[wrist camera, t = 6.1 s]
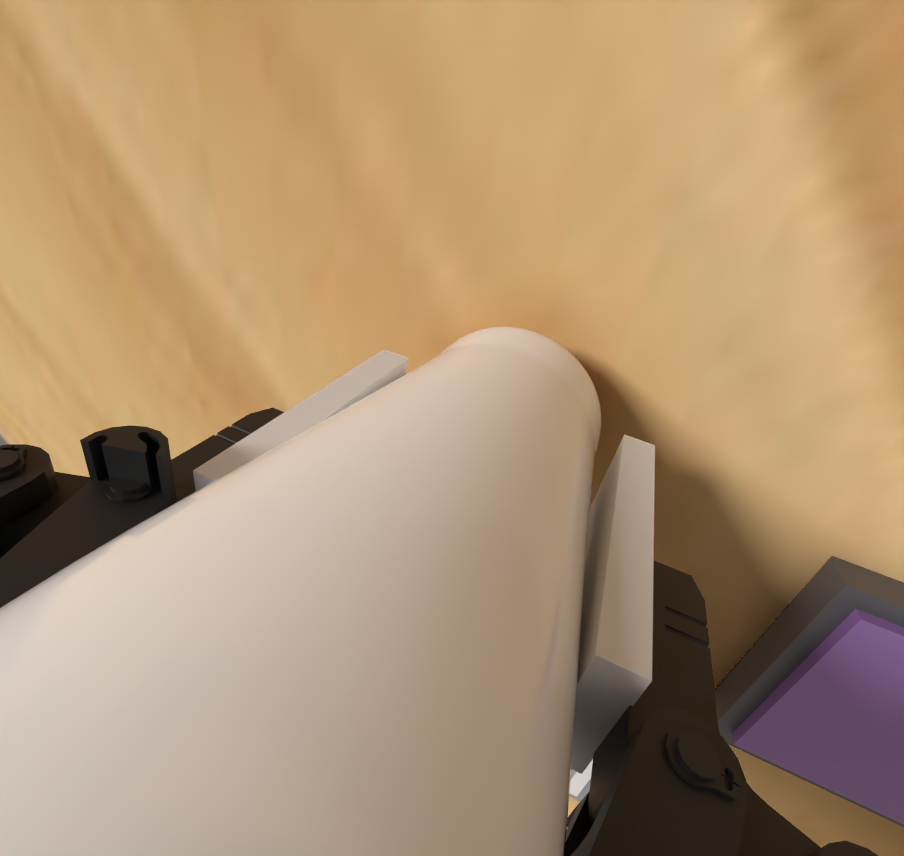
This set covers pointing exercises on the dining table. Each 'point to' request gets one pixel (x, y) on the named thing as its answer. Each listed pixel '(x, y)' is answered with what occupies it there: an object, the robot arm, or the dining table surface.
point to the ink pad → (828, 689)
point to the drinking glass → (326, 637)
